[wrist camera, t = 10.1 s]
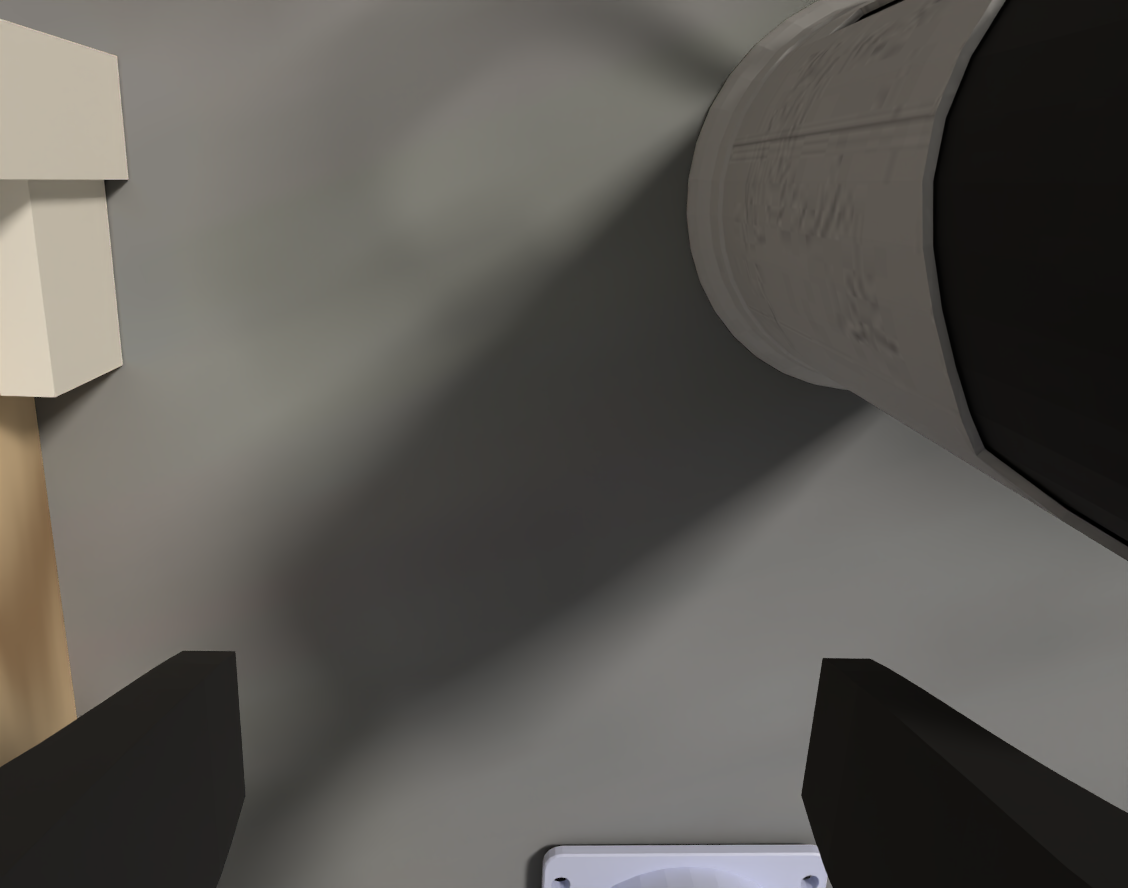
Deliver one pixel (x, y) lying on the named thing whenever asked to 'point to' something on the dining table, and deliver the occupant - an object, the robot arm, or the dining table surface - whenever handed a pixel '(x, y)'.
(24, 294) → the post
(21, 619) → the rail
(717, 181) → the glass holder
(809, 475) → the dining table surface
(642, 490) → the dining table surface
